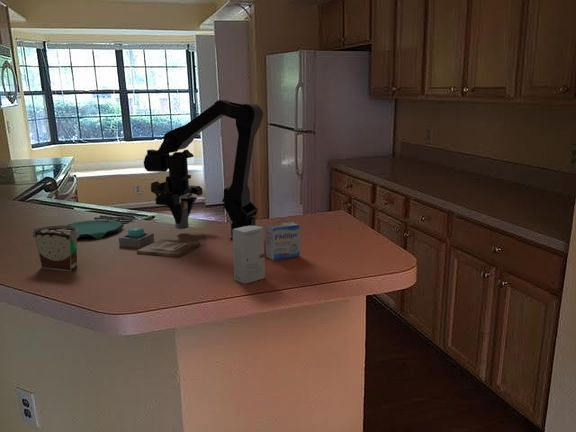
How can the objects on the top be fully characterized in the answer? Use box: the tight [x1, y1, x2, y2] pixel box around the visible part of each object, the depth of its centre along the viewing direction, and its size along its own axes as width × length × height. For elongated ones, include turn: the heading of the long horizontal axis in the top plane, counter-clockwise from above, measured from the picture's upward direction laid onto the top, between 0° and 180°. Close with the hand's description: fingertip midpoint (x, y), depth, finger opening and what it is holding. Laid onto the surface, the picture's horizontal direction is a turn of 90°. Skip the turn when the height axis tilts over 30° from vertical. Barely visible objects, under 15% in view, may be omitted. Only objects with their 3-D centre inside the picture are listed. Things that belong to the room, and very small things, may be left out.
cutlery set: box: [68, 214, 139, 240], centre depth 163 cm, size 20×30×2 cm, turn 169°
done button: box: [127, 227, 145, 238], centre depth 143 cm, size 4×4×2 cm
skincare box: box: [232, 225, 266, 285], centre depth 113 cm, size 6×4×12 cm
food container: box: [32, 224, 80, 272], centre depth 124 cm, size 12×6×10 cm, turn 71°
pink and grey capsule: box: [174, 201, 190, 230], centre depth 153 cm, size 4×4×8 cm
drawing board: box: [136, 238, 201, 258], centre depth 138 cm, size 13×12×1 cm
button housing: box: [118, 231, 155, 249], centre depth 144 cm, size 7×7×3 cm
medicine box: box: [265, 221, 301, 262], centre depth 129 cm, size 8×4×9 cm, turn 117°
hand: (181, 222), depth 154 cm, fingers closed on pink and grey capsule, 4 cm apart
